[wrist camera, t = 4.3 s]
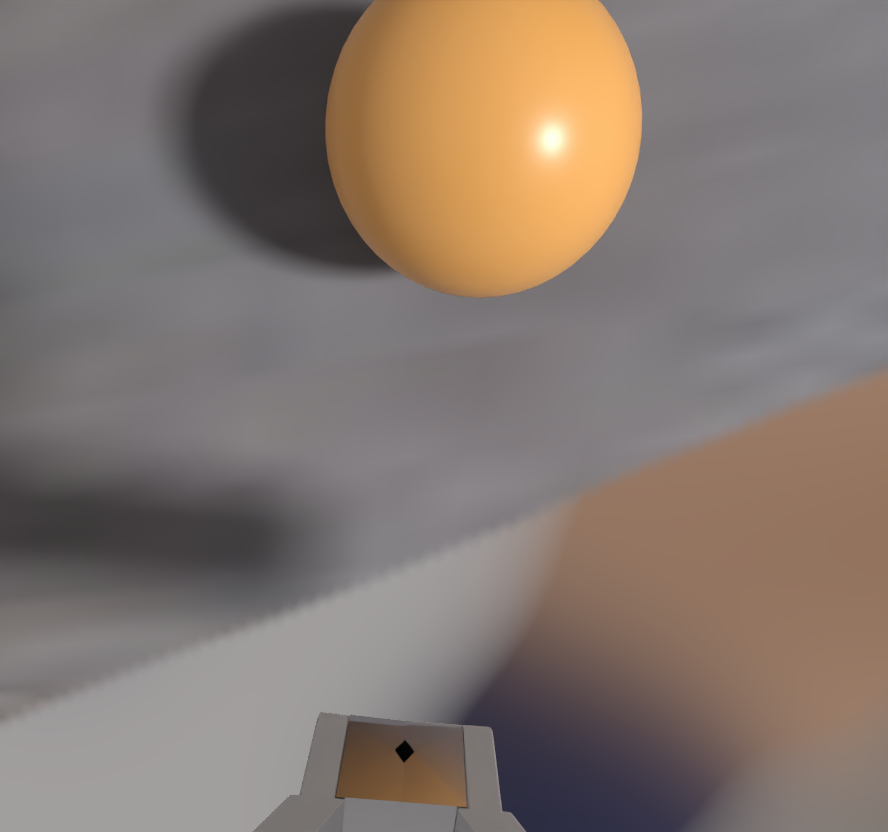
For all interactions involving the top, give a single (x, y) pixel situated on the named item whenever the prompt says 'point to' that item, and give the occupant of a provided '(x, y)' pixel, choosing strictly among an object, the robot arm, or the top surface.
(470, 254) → the ball
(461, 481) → the top surface
